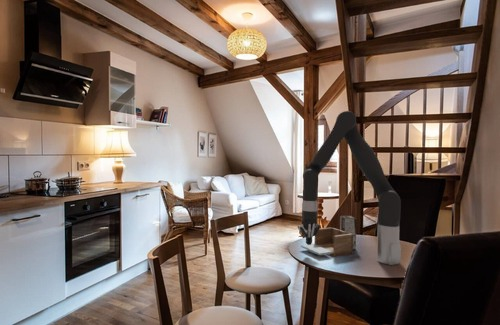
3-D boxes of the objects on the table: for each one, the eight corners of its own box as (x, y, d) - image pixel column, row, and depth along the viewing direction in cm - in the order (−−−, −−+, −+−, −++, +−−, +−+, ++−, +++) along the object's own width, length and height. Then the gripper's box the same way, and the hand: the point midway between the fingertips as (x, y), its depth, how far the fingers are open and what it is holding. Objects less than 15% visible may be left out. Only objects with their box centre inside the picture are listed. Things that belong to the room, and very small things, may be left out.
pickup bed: (352, 254, 158) (353, 234, 158) (333, 257, 153) (334, 236, 152) (331, 245, 172) (331, 227, 172) (313, 248, 167) (313, 229, 167)
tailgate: (332, 251, 153) (319, 253, 149) (332, 255, 153) (319, 257, 149) (312, 243, 166) (301, 245, 163) (312, 246, 166) (301, 248, 163)
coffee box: (356, 249, 166) (357, 218, 166) (343, 249, 166) (344, 218, 166) (351, 244, 175) (351, 215, 175) (339, 244, 175) (340, 215, 175)
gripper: (303, 211, 149) (302, 248, 149) (325, 209, 155) (324, 245, 155) (294, 209, 156) (293, 243, 156) (315, 207, 162) (315, 241, 162)
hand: (308, 244), depth 156 cm, fingers closed
